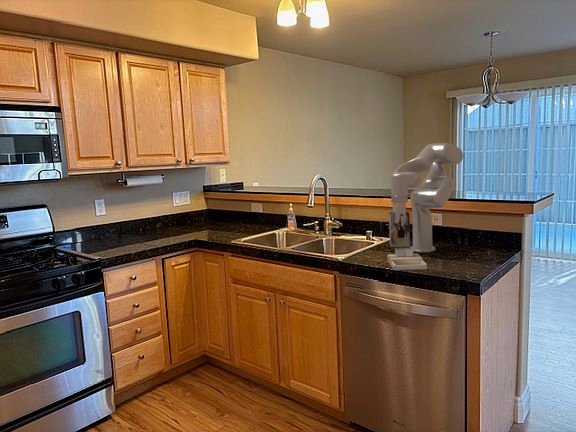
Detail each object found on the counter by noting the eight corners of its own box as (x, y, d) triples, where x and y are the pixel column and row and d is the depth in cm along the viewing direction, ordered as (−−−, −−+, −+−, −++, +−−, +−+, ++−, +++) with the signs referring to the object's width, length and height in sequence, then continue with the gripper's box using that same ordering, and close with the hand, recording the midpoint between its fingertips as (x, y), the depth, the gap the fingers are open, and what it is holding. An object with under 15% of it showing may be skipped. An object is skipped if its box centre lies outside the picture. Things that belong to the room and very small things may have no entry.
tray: (391, 266, 200) (391, 261, 200) (422, 264, 199) (422, 260, 199) (394, 270, 192) (394, 265, 192) (427, 269, 191) (427, 264, 191)
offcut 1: (395, 255, 207) (395, 248, 207) (402, 255, 207) (402, 247, 206) (396, 257, 204) (396, 249, 203) (404, 256, 203) (404, 249, 203)
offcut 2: (404, 255, 207) (403, 247, 206) (411, 254, 207) (411, 247, 206) (405, 256, 203) (405, 249, 203) (413, 256, 203) (413, 249, 203)
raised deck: (387, 260, 210) (387, 254, 209) (417, 259, 209) (417, 253, 209) (391, 266, 200) (391, 259, 200) (422, 264, 199) (422, 258, 199)
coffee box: (408, 244, 216) (408, 211, 214) (410, 246, 209) (410, 213, 207) (389, 244, 217) (389, 212, 215) (390, 247, 211) (390, 213, 209)
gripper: (388, 197, 219) (388, 233, 221) (394, 201, 202) (395, 239, 204) (403, 197, 219) (404, 233, 221) (411, 200, 202) (411, 239, 204)
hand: (399, 236), depth 213 cm, fingers closed on coffee box, 6 cm apart
